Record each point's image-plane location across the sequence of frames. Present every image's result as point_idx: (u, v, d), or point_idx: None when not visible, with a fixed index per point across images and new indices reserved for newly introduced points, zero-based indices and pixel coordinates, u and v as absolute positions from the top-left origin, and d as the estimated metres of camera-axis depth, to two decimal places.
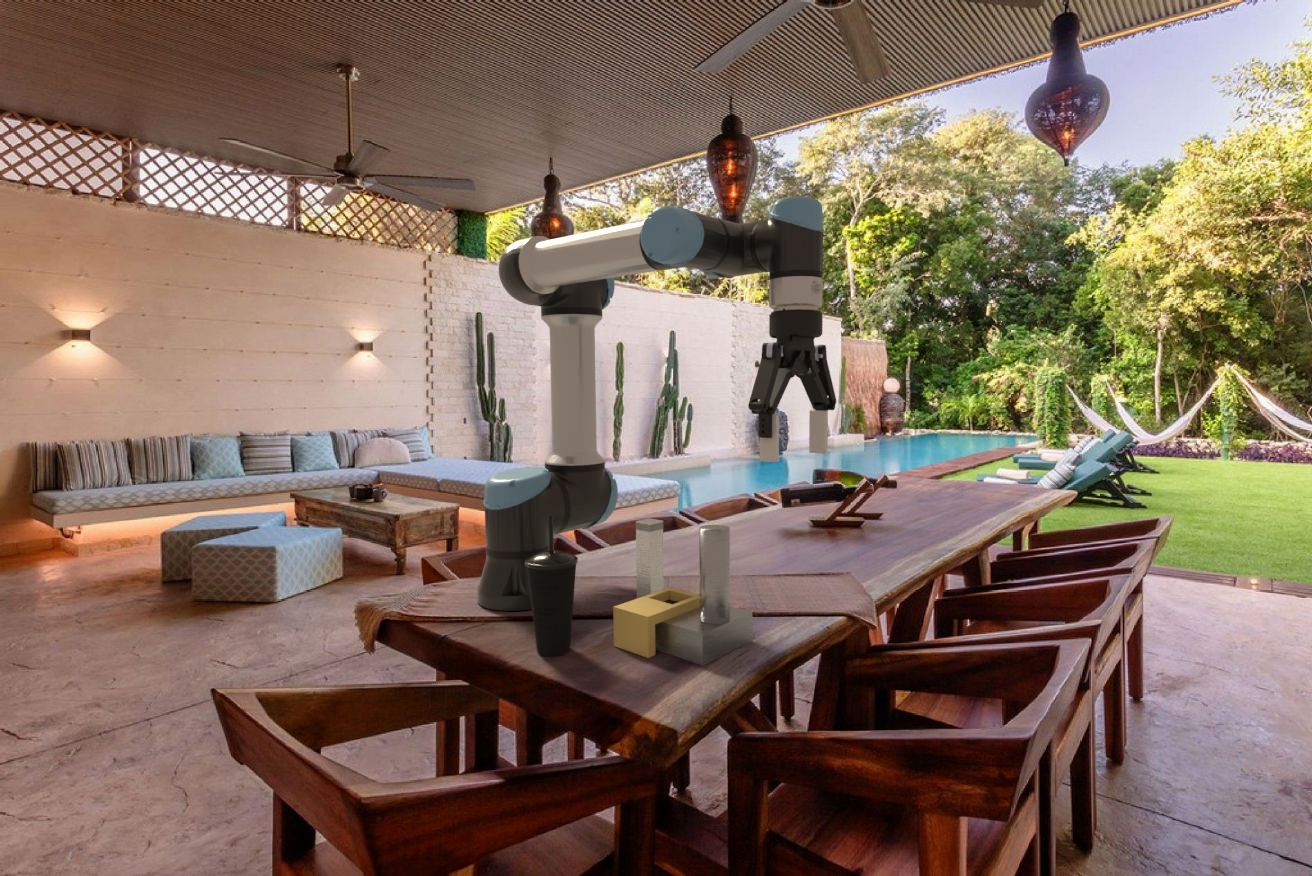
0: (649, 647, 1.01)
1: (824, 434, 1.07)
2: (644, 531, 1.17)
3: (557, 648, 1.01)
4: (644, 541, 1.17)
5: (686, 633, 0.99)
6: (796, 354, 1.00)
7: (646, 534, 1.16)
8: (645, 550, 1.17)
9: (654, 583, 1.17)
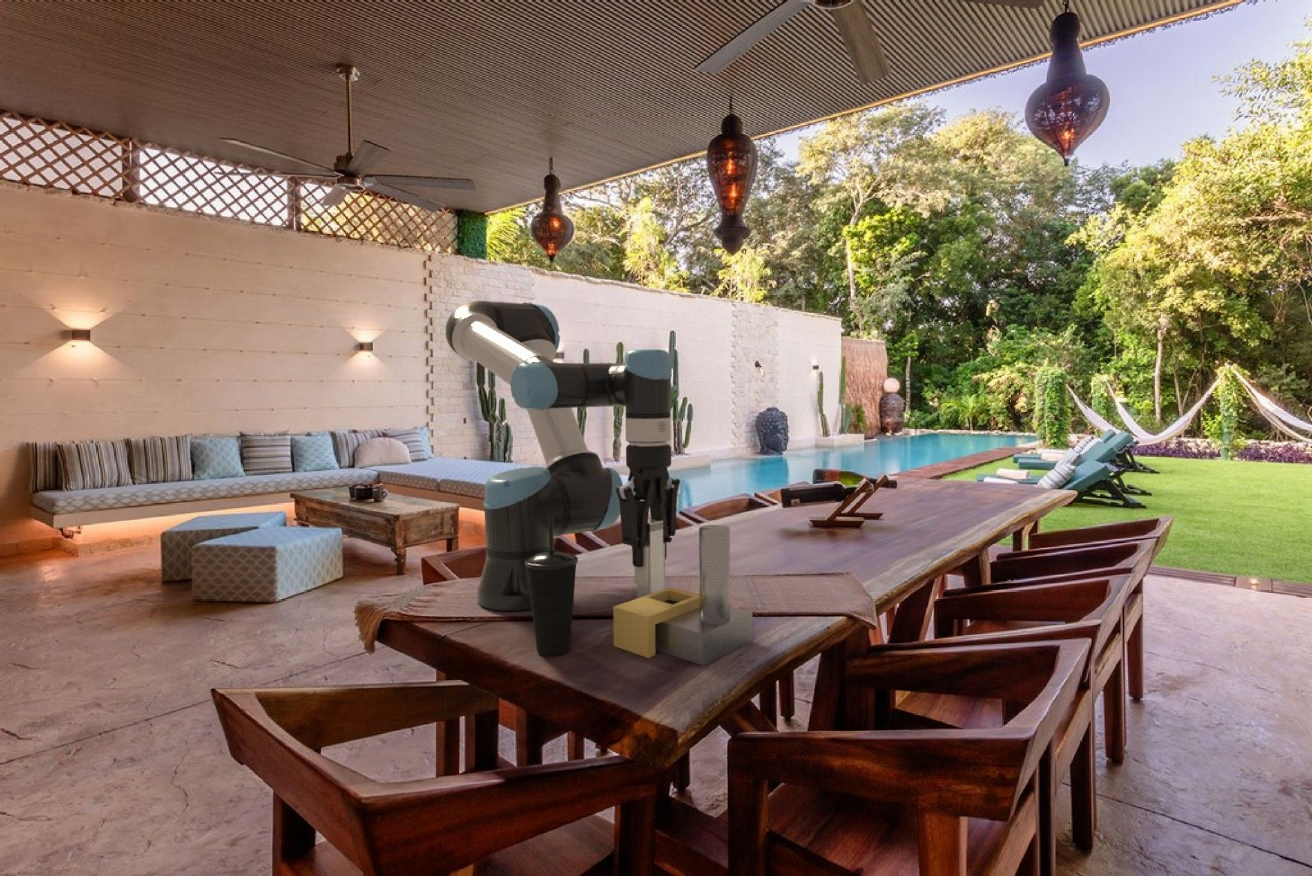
0: (649, 647, 1.01)
1: None
2: None
3: (557, 648, 1.01)
4: None
5: (686, 633, 0.99)
6: (646, 485, 1.15)
7: None
8: None
9: (654, 583, 1.17)
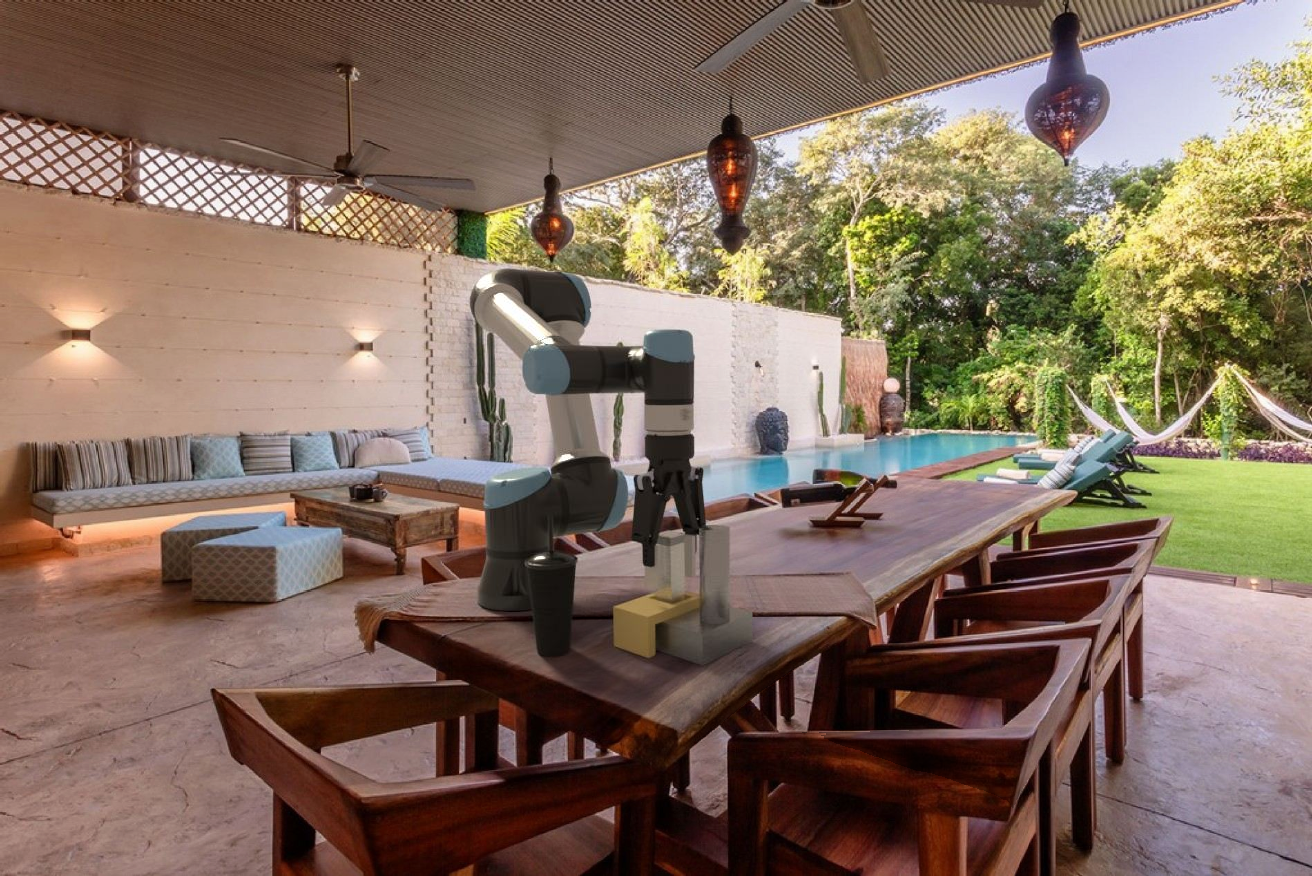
0: (649, 647, 1.01)
1: (691, 558, 1.10)
2: (664, 545, 1.07)
3: (557, 648, 1.01)
4: (664, 555, 1.07)
5: (686, 633, 0.99)
6: (667, 478, 1.05)
7: (666, 548, 1.06)
8: (665, 566, 1.07)
9: (675, 602, 1.07)
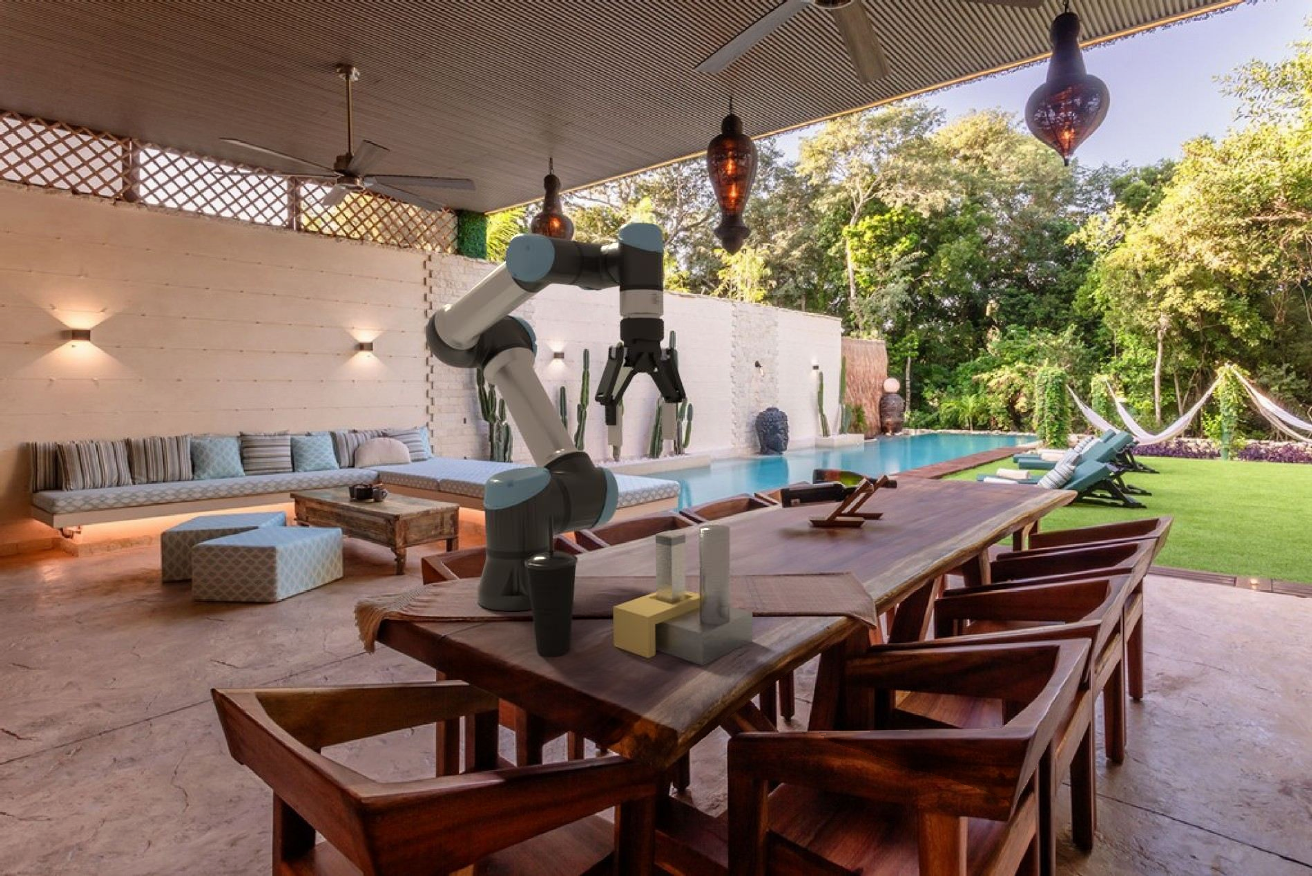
0: (649, 647, 1.01)
1: (673, 423, 1.25)
2: (665, 544, 1.07)
3: (557, 648, 1.01)
4: (665, 555, 1.07)
5: (686, 633, 0.99)
6: (639, 355, 1.18)
7: (667, 548, 1.07)
8: (666, 566, 1.07)
9: (676, 602, 1.07)
